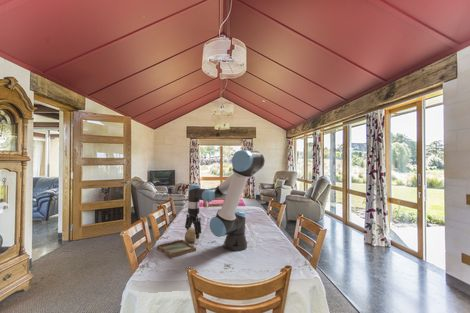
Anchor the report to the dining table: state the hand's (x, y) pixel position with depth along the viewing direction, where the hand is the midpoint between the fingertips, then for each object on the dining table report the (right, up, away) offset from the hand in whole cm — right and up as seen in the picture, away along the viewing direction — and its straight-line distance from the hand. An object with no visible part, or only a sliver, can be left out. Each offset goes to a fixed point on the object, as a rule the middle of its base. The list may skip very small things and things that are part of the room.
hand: (192, 241), depth 159 cm
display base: (-7, 0, -14) cm, 16 cm away
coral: (0, -1, 0) cm, 1 cm away
